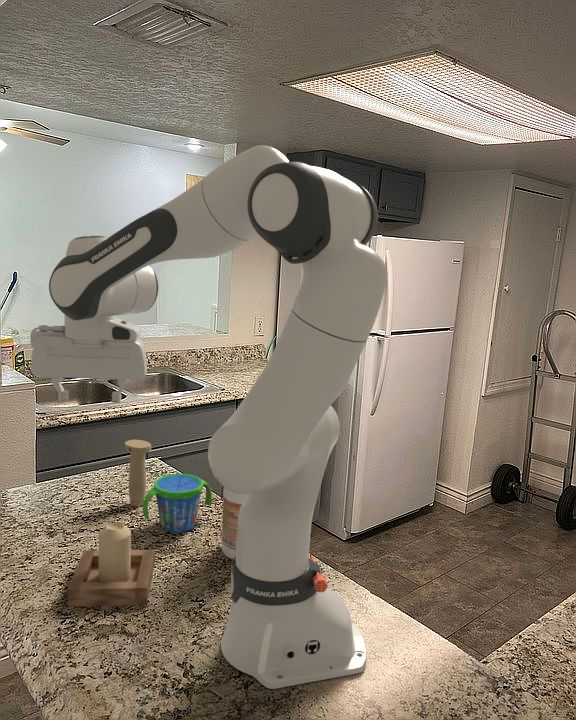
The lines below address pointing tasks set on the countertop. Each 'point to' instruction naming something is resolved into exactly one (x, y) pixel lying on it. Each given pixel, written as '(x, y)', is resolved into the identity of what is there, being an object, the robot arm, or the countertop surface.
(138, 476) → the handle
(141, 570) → the brown shallow square tray
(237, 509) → the fruit juice
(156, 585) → the countertop surface
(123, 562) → the candle
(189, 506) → the snack cup
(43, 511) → the countertop surface
